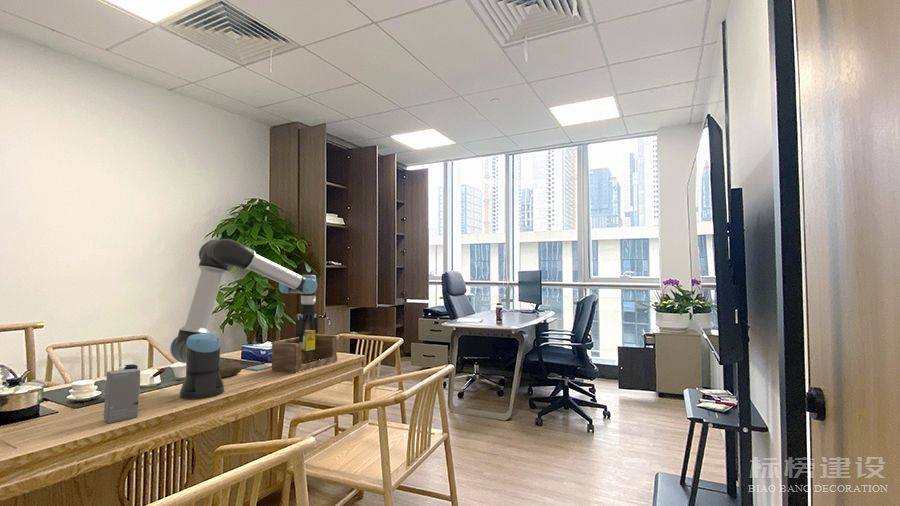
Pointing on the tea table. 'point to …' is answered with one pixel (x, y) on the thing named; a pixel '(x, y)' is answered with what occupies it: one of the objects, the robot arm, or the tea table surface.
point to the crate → (303, 353)
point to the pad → (259, 367)
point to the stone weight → (229, 369)
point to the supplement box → (309, 341)
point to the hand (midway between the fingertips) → (306, 347)
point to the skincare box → (121, 395)
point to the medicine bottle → (129, 368)
